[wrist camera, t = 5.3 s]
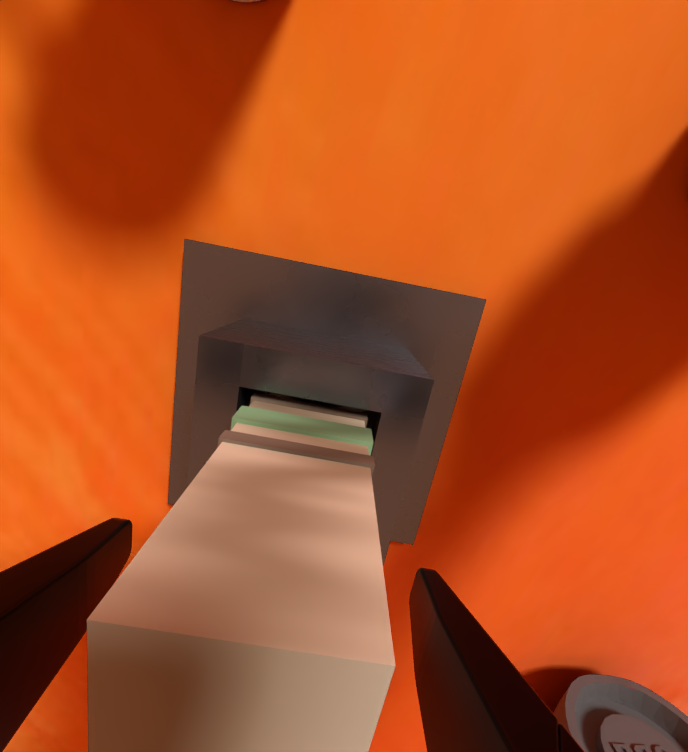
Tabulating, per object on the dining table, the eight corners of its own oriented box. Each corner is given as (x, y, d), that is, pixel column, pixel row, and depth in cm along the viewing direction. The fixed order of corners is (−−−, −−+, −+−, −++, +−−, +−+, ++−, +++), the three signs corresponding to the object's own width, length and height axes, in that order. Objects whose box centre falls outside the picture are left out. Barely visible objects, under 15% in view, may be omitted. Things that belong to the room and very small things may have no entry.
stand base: (480, 298, 17) (568, 312, 10) (410, 534, 21) (441, 659, 14) (192, 240, 16) (82, 213, 9) (174, 495, 20) (87, 605, 13)
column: (368, 410, 13) (409, 660, 5) (346, 507, 14) (346, 850, 6) (254, 390, 13) (74, 609, 4) (241, 489, 14) (79, 816, 5)
